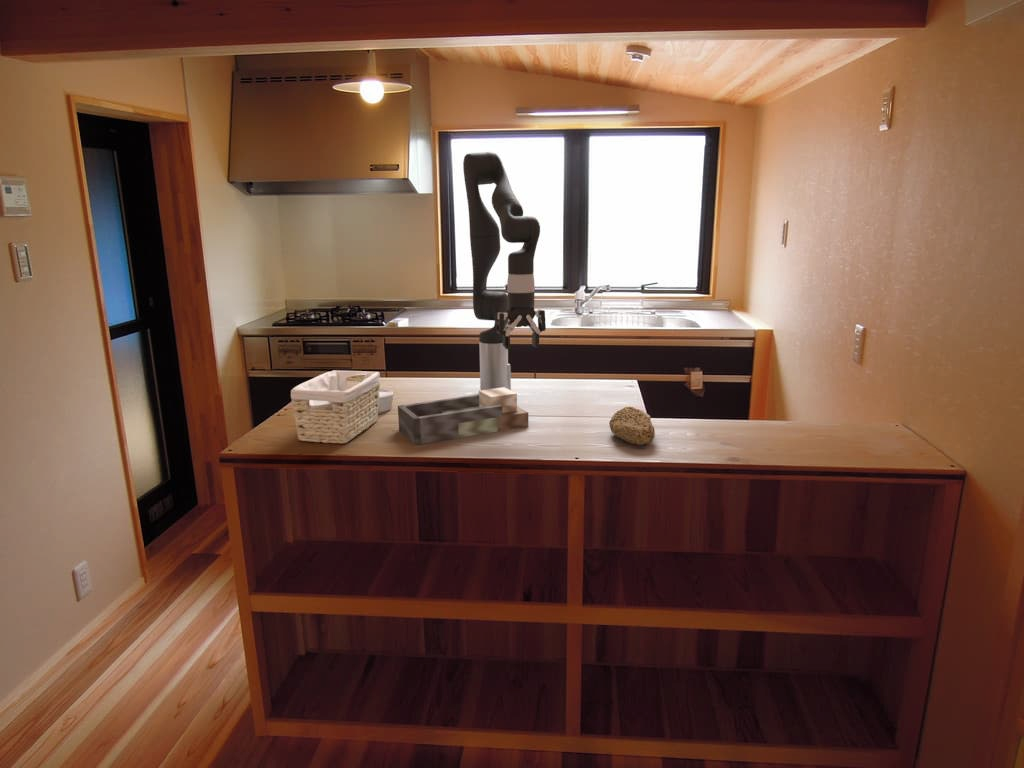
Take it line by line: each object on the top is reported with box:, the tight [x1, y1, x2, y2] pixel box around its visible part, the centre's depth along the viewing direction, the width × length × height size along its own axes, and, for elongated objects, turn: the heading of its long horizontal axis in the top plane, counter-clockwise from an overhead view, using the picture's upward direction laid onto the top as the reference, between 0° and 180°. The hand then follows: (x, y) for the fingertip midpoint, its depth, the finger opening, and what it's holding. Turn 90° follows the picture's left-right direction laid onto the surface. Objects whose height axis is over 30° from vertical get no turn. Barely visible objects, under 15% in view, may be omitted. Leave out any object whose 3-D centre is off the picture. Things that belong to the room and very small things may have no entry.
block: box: [478, 387, 518, 413], centre depth 194 cm, size 8×8×5 cm
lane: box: [397, 393, 529, 446], centre depth 190 cm, size 33×14×7 cm, turn 117°
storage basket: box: [290, 369, 381, 444], centre depth 188 cm, size 24×16×15 cm
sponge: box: [609, 406, 656, 446], centre depth 181 cm, size 13×8×20 cm
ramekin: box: [378, 388, 395, 414], centre depth 209 cm, size 11×11×5 cm
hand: (521, 347), depth 195 cm, fingers open, 8 cm apart
